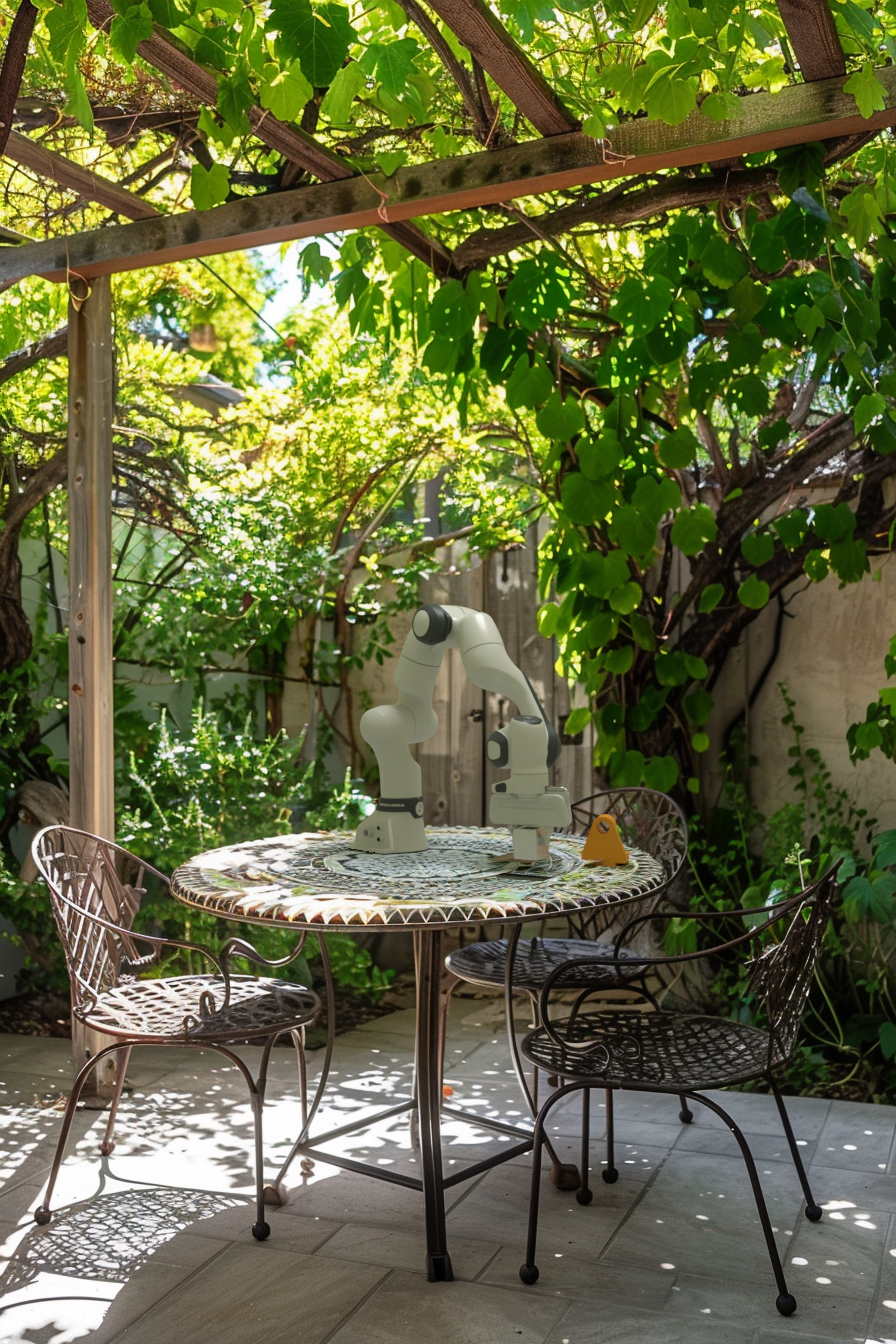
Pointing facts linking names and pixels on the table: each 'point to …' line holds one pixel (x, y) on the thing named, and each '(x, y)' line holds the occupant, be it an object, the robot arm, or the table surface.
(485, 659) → the robot arm
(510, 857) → the post board
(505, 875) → the mat
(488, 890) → the table surface
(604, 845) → the bracket
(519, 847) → the white box
